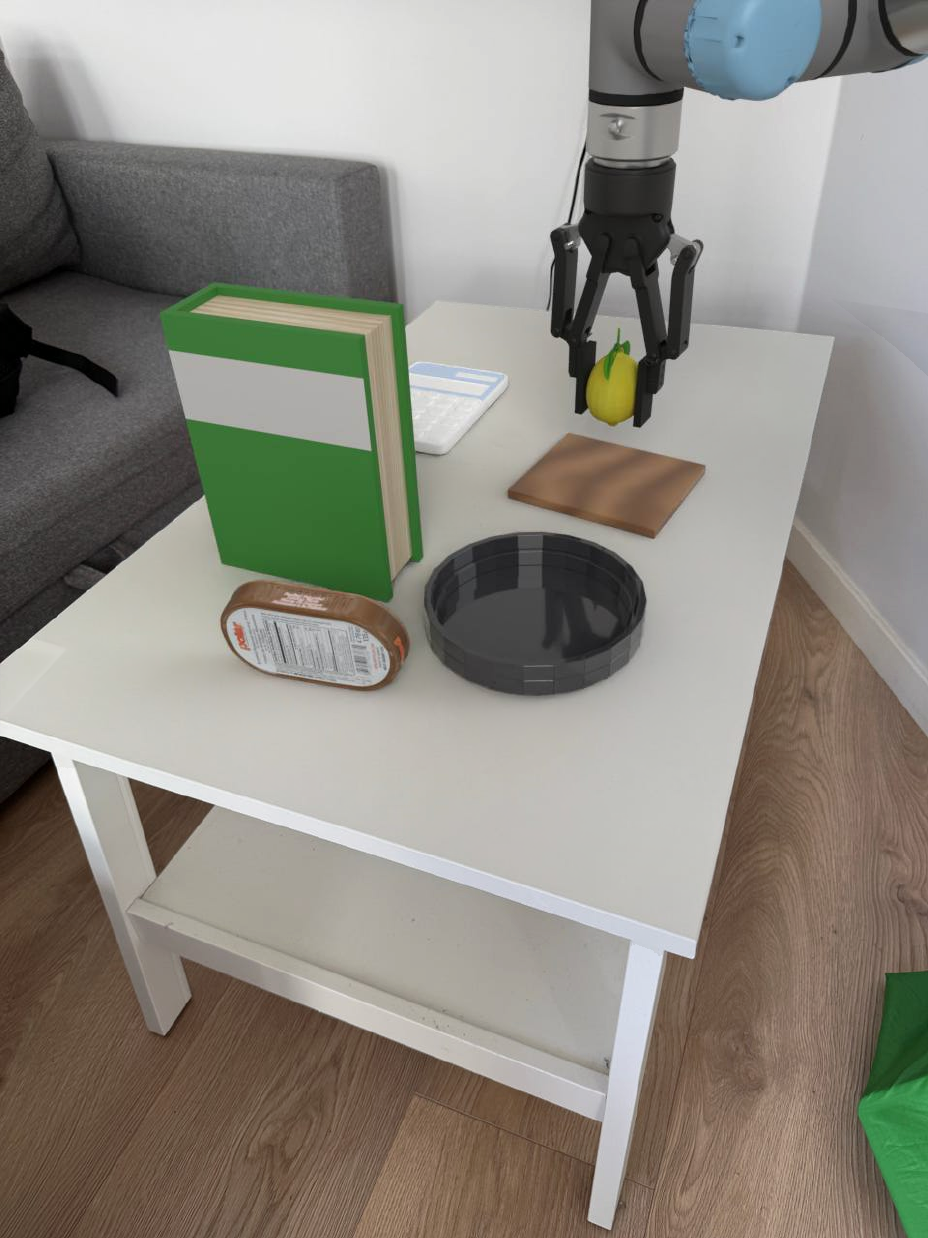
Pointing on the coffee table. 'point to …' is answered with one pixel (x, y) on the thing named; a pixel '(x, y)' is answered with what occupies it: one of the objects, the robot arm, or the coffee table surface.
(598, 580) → the pan
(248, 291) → the hardback book
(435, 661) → the coffee table surface
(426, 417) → the calculator
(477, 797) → the coffee table surface
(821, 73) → the robot arm
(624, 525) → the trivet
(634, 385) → the lemon
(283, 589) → the tin
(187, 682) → the coffee table surface
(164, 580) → the coffee table surface
